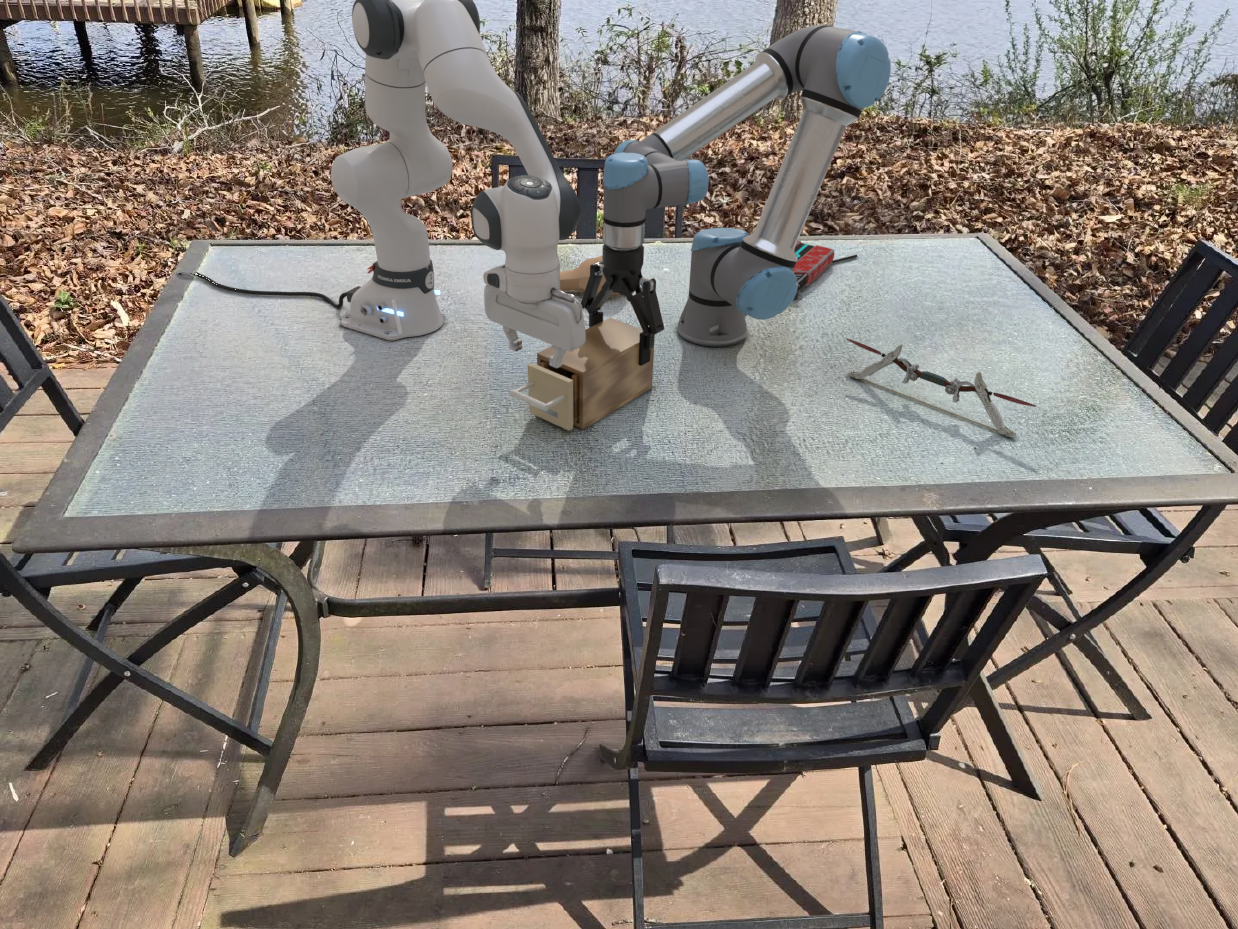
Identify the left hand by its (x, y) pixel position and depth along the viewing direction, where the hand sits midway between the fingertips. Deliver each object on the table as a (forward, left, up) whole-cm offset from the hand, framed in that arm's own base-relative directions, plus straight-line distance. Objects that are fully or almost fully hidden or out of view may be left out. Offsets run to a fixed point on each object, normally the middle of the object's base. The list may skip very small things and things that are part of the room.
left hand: (535, 357), depth 150 cm
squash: (-13, +64, -15) cm, 67 cm away
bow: (+67, +36, -15) cm, 77 cm away
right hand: (+8, +22, -8) cm, 25 cm away
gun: (+29, +93, -15) cm, 98 cm away
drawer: (+4, +9, -14) cm, 17 cm away
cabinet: (+6, +15, -15) cm, 22 cm away
